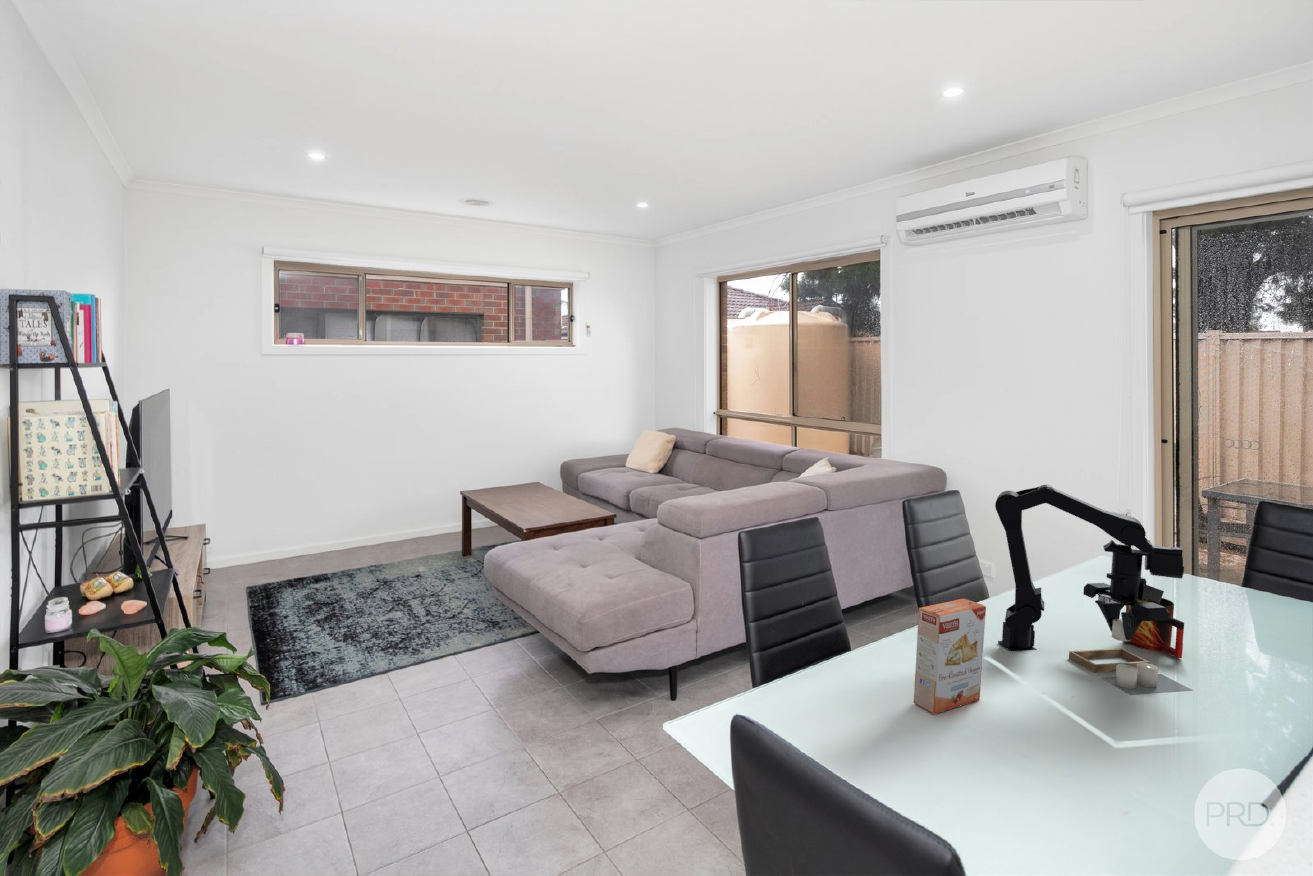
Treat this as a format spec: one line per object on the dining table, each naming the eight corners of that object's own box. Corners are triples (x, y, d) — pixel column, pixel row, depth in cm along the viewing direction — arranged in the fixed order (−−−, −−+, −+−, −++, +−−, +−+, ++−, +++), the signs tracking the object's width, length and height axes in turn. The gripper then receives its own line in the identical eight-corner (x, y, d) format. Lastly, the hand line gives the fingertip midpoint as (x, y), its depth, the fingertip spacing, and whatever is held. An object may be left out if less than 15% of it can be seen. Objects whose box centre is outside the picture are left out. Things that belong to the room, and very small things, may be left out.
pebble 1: (1120, 641, 158) (1121, 625, 157) (1107, 635, 161) (1108, 619, 161) (1135, 640, 158) (1136, 624, 158) (1122, 634, 162) (1123, 618, 162)
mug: (1179, 663, 162) (1183, 615, 161) (1116, 643, 174) (1119, 598, 172) (1197, 655, 167) (1201, 607, 166) (1134, 636, 179) (1137, 591, 177)
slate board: (1130, 698, 145) (1130, 694, 145) (1100, 681, 153) (1101, 677, 153) (1192, 693, 147) (1192, 690, 147) (1160, 677, 155) (1160, 673, 155)
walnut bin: (1094, 676, 155) (1095, 665, 155) (1068, 661, 163) (1069, 651, 163) (1149, 672, 157) (1149, 662, 157) (1121, 658, 165) (1121, 648, 165)
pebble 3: (1145, 688, 147) (1146, 670, 147) (1131, 680, 151) (1132, 663, 151) (1161, 687, 148) (1162, 669, 148) (1146, 679, 152) (1147, 662, 151)
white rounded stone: (1124, 689, 147) (1126, 672, 146) (1110, 681, 151) (1112, 664, 150) (1140, 688, 147) (1142, 671, 147) (1126, 680, 151) (1127, 663, 151)
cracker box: (936, 717, 137) (940, 616, 135) (912, 703, 142) (916, 606, 140) (982, 701, 143) (987, 605, 141) (958, 689, 149) (962, 596, 147)
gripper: (1193, 582, 150) (1187, 651, 152) (1124, 559, 168) (1120, 620, 170) (1148, 584, 149) (1142, 653, 150) (1083, 561, 167) (1079, 622, 169)
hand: (1121, 636), depth 160 cm, fingers closed on pebble 1, 4 cm apart
